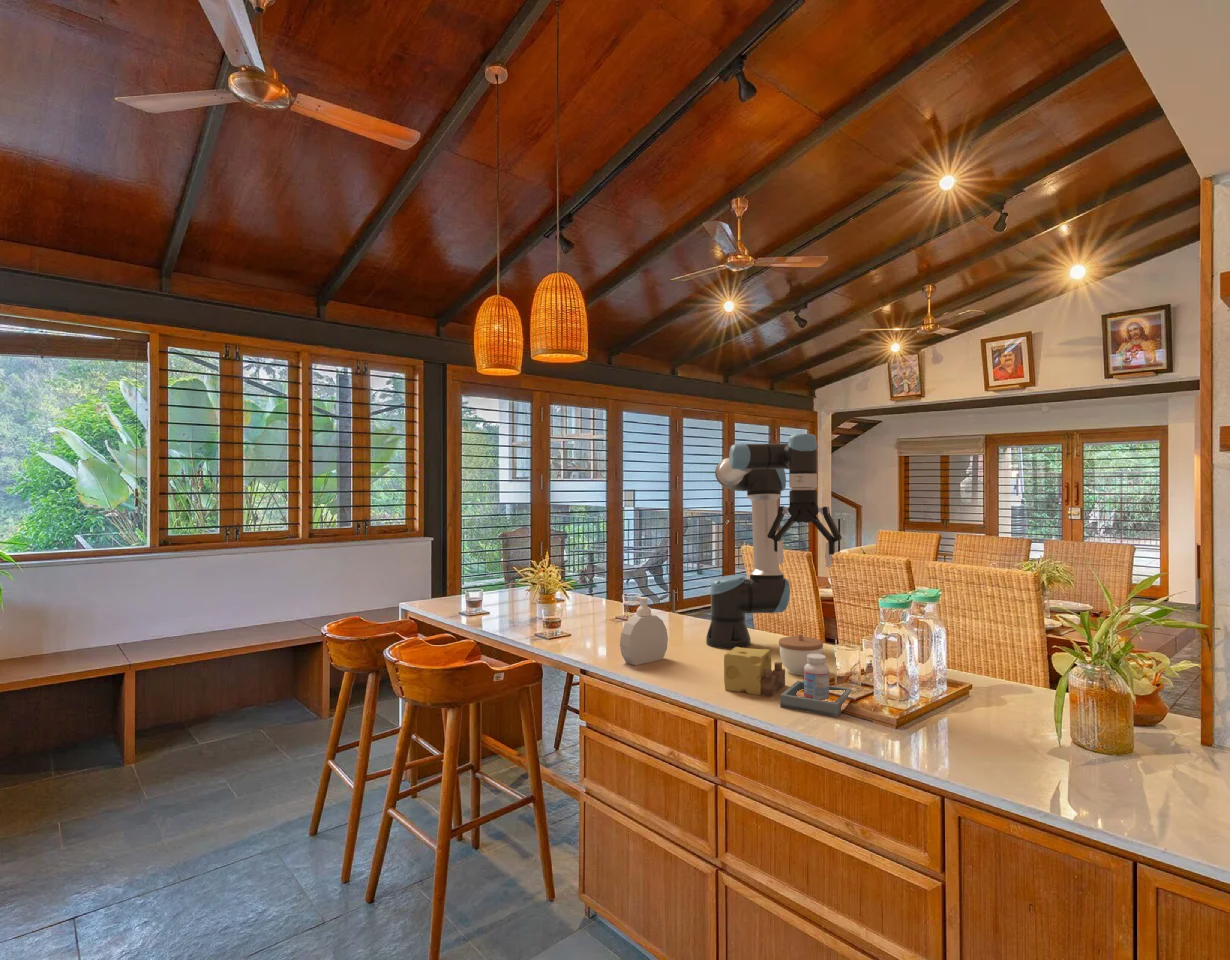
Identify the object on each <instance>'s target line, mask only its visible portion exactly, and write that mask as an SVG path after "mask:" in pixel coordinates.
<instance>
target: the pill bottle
mask: <svg viewBox="0 0 1230 960" xmlns="http://www.w3.org/2000/svg"><path fill="white" fill-rule="evenodd" d="M807 662H808V664H806V665H805V667H804V675H803V678H804V680H803V682H804V698H810V699H816V700H825V699H828V698H829V685H830V668H829V666H828V665H827V664H826V663H827V656H826V655H825V654H823V655H821V654H808V655H807Z"/></svg>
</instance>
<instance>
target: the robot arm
mask: <svg viewBox="0 0 1230 960" xmlns="http://www.w3.org/2000/svg"><path fill="white" fill-rule="evenodd" d="M817 451H818V445H817V437H816V435H815V434H813V433H796V434H794V433H793V434H791V435H790V436H789V438H788V443H744V442H743V443H739V444H738V443H734V444H732V445H731V446H730V448H729V452H728V454H729V455H728V457H727V458H724V459H722V460H720V461H719V463H718V464H716V467H715V472H714V474H715V479H716V481H717V482H718V483H719V484H720V485H721V486H722V487H724V488H726V489H728V490H731V491H736V492H746V495H747V496H746V497H747V498H748V500H750V501H751V514H752V519H751V520H752V521H751V523H752V546H753V547H752V550H753V570H752V571H750V573H749V578H748V579H746V578H745V576H744V575H743V574H730V575H724V576H723V575H722V576H719V577H717V578H716V577H715V578H714V579H713V580H712V581H711V585H710V592H709V593H710V615H711V617H710V618H711V619H710V625H709V628H708V630H707V634H706V640H705V641H706V645H708V646H710V647H714V648H718V649H728V650H729V649H731V650H732V649H733V648H735V647H741V648H748V647H750V646H751V636H750V633H749V630H748V627H747V623H746V614H775V613H776V614H778V613H783V612H785V611H786V610H787V608H788V606H789V602H790V597H791V586H790V581H789V579H788V578H785V577H784V576H785V575H784V574H785V573H783V571H782V570H780V565H781V564H784V540H782V538H783V536H784V535H785V534H786V533H787V532H788V530H789V529H790V528H791V527H792V526H793V525H794V524H795V523H807V524H808V523H812V524H813V525H814V526H815V528H816V529H817V530H818V531H819V532H820V533H821V535H822V536H824V538H825V539H826V540H827V542H825V567H826V568H830V567H831V566H832V555H834V554H835V552H836V549H835V548H836V544H835V543H836V542H837V541H838V542H839V541H841V540H842V539H843V538H842V535H841V533H840V531H839V529H838V527H837V526H836V523H835V521H834V519H833V518H832V516H831V511H830V507H829V506H823V507H819V506H818V491H817V488H818V474H817V473H818V471H817V470H818V460H817V459H818V456H817V455H818V454H817V453H818V452H817ZM785 470H788V471H789V472H788V476H789V477H788V482H789V484H788V485H789V489H791V490H789V493H788V494H789V506H784V505H781V506H778V503H777V501H778V499H779V498H781V496H782V492H784V491H785V489H786V487H787V484H786V483H787V477H786V476H787V475H786V471H785ZM787 513H788V514H789V515H790V517H789V518H788V519H787V520H786V522H785V523H784V524H783V526H782V527H781V528H780V529H779V527H780V525H781V523H782V521H783V519H784V516H785V515H786V514H787ZM819 513H820V514H821V516H823V519H824V520H825V522H826V524H827V526H828V527H829V530H828V529H827V528H826V527H825V525H824V524H823V523H822V522H821V521H820V519H819V518H818V516H817V515H818V514H819ZM778 529H779V530H778Z"/></svg>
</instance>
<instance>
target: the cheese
mask: <svg viewBox="0 0 1230 960" xmlns="http://www.w3.org/2000/svg"><path fill="white" fill-rule="evenodd" d="M771 654H772V653H771V650H770V649H763V648H762V649H761V648H759V649H758V648H748V647H744V648H741V647H735V648H733V649H731V650H730V651H728V652H726V653H725V654H724V656H723V682H724V690H725V691H730V692H738V693H739V692H740V693H743V692H745V693H747V694H749V695H755V696H761V679H762V678H763V677H764V669H771V670H772V655H771Z"/></svg>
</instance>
